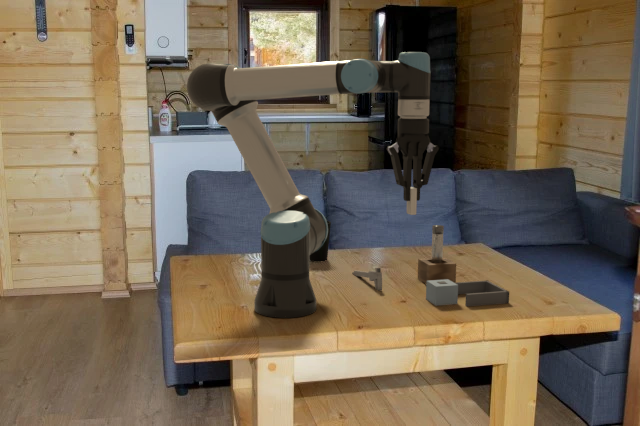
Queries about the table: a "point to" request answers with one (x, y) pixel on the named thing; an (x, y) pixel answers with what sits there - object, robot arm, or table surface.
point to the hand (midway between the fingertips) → (411, 213)
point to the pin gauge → (437, 243)
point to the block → (441, 292)
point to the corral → (477, 296)
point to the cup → (322, 249)
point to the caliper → (372, 277)
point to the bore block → (436, 270)
